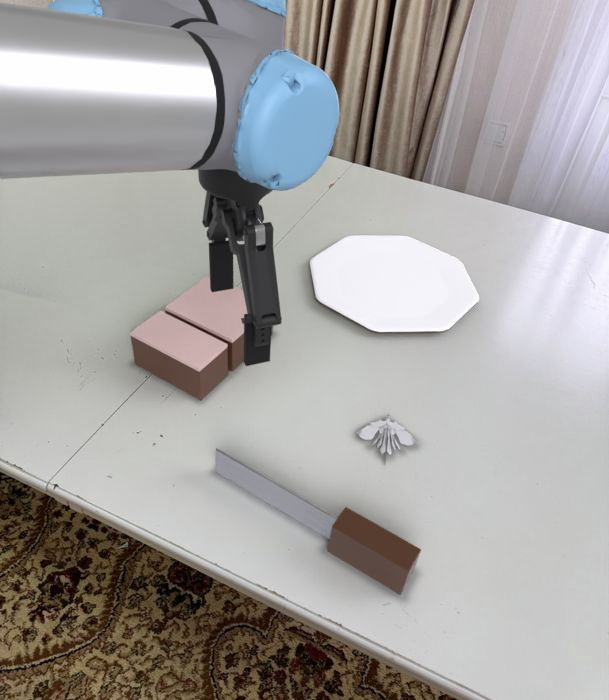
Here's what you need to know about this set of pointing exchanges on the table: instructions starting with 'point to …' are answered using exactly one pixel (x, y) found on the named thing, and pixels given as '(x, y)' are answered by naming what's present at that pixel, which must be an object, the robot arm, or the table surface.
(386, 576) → the cake knife
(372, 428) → the flower
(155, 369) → the cake slice
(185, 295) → the cake
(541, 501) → the table surface
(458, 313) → the plate
